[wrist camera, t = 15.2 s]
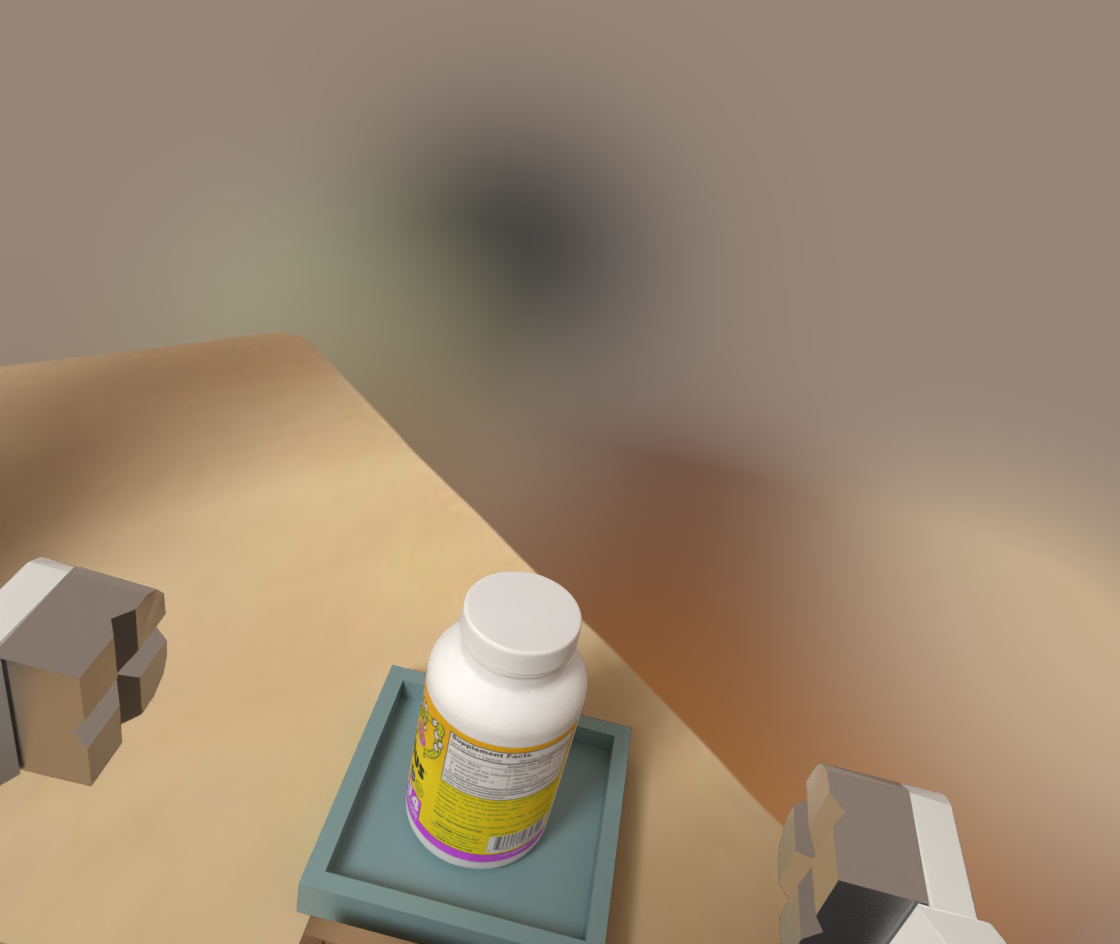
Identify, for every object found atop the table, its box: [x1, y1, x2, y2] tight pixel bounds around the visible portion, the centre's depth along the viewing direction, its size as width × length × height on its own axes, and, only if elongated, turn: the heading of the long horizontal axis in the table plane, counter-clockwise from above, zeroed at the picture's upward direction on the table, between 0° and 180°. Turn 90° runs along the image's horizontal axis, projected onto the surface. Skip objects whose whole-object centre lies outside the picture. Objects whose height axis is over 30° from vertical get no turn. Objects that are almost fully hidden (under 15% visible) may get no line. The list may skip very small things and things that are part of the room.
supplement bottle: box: [406, 571, 588, 869], centre depth 41 cm, size 7×7×13 cm
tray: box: [297, 665, 632, 944], centre depth 45 cm, size 13×13×2 cm
